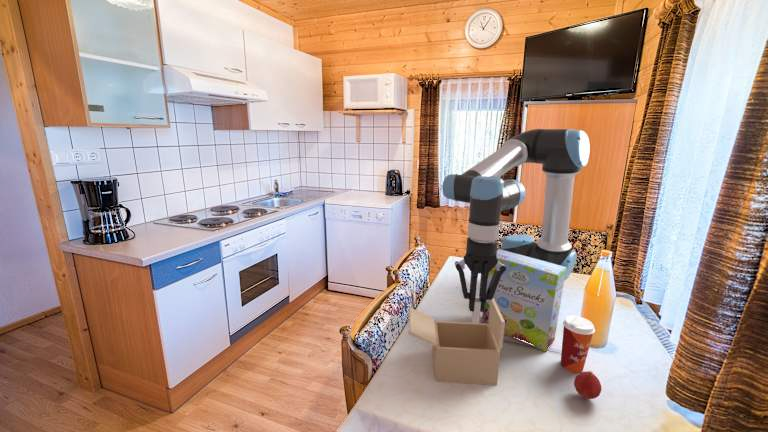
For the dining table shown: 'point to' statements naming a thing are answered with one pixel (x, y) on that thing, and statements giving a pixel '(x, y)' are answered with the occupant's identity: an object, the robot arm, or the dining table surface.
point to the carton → (465, 353)
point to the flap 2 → (496, 323)
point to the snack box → (528, 298)
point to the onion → (587, 385)
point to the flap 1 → (422, 326)
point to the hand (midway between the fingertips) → (475, 321)
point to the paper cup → (576, 343)
